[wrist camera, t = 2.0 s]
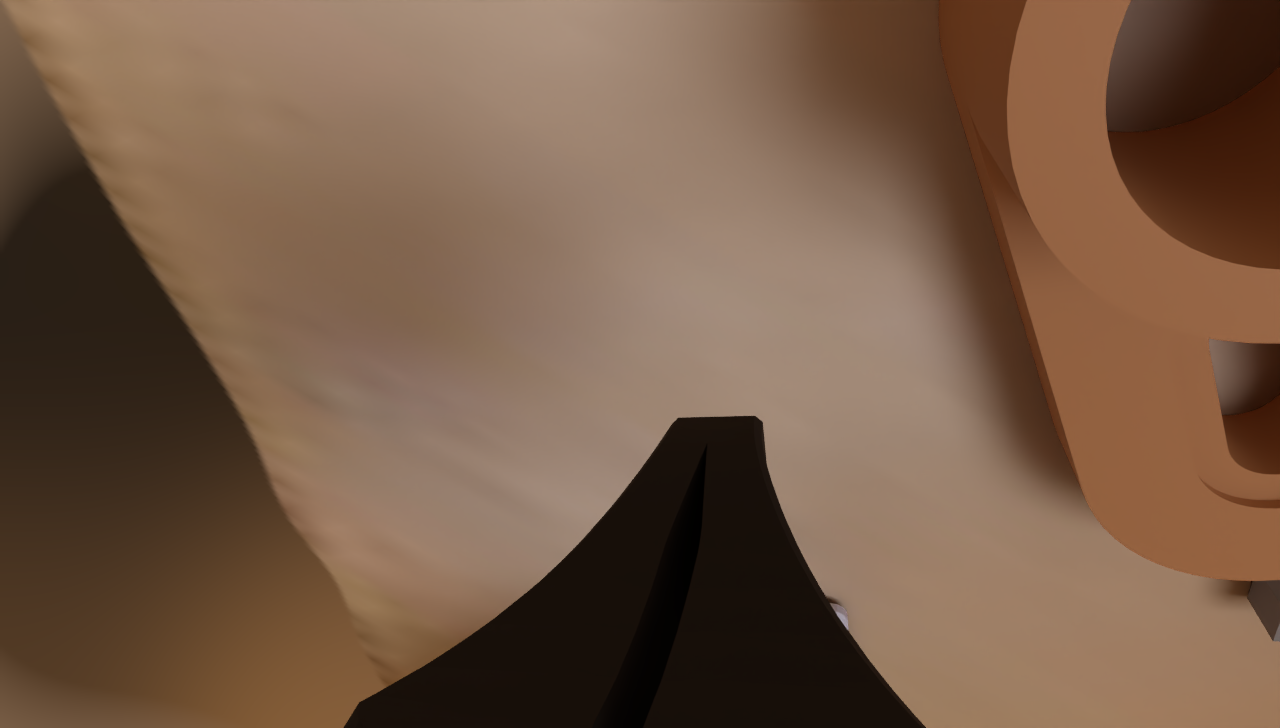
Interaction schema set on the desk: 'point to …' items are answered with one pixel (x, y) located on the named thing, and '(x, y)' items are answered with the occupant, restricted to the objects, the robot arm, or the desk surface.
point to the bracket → (1132, 276)
